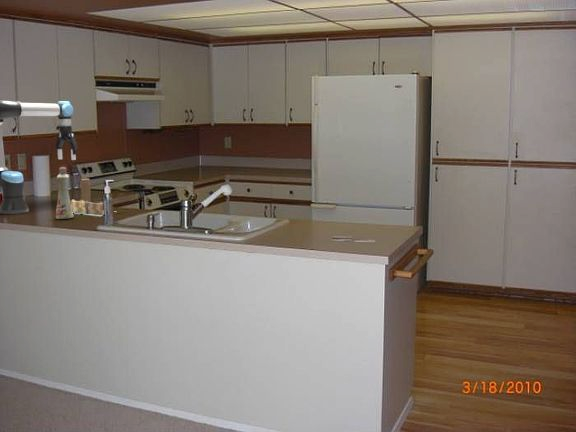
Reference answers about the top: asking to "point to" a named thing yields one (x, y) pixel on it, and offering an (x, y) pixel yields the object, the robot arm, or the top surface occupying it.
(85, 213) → the board
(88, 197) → the wooden block
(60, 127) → the robot arm
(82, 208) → the fence panel
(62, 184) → the bottle
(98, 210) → the fence fixed leg
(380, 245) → the top surface
